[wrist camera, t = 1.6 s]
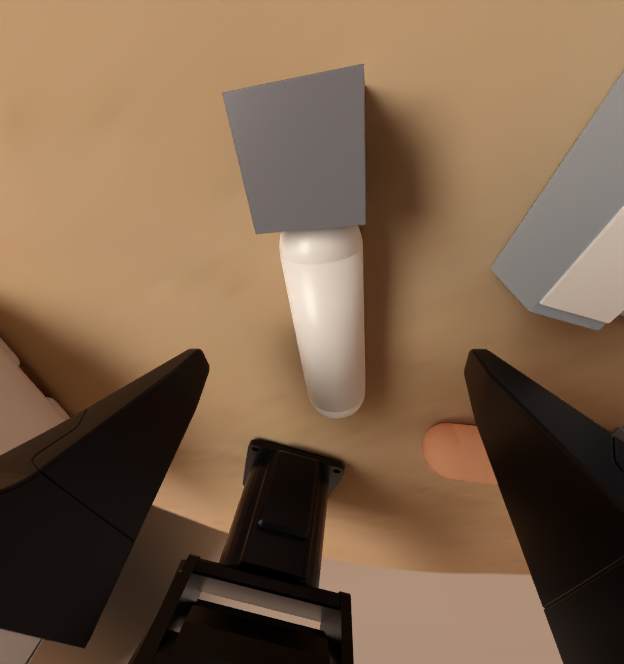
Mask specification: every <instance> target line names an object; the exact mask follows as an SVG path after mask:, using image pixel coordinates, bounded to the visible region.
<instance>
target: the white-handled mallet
mask: <svg viewBox="0 0 624 664" xmlns="http://www.w3.org/2000/svg"><path fill="white" fill-rule="evenodd" d="M222 95H223V99H224V103H225V107H226V111H227V116H228V120H229V124H230V128H231V132H232V137H233V141H234V145H235V149H236V153H237V157H238V162H239V166H240V170H241V174H242V178H243V182H244V187H245V191H246V195H247V199H248V203H249V207H250V212H251V216H252V220H253V224H254V228H255V232H256V234H262V233H274V232H282V233H281V236H280V244H279V248H280V257H281V262H282V267H283V272H284V278H285V283H286V288H287V293H288V298H289V303H290V308H291V313H292V318H293V323H294V328H295V333H296V338H297V343H298V348H299V353H300V358H301V363H302V368H303V373H304V378H305V383H306V389H307V394H308V398H309V400H310V403H311V404H312V406H313V407H314V408H315V410H316V411H317V412H319V413H320V414H321V415H323V416H325V417H328V418H331V419H342V418H346V417H349V416H351V415H352V414H354V413H355V412H356V411H357V410H358V409H359V408H360V406H361V405H362V403H363V400H364V397H365V390H366V389H365V334H364V278H363V242H362V236H361V232H360V229H359V227H358V225H366V144H365V78H364V64H360V65H355V66H350V67H345V68H340V69H335V70H330V71H325V72H320V73H316V74H311V75H306V76H301V77H296V78H291V79H286V80H281V81H276V82H271V83H267V84H262V85H257V86H252V87H247V88H242V89H237V90H232V91H227V92H223V93H222Z"/></svg>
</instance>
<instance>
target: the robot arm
mask: <svg viewBox="0 0 624 664" xmlns="http://www.w3.org/2000/svg"><path fill="white" fill-rule="evenodd" d="M208 373H209V364H208V362H207V360H206V358H205V355H204V353H203V351H202V350H201V349H188V350H186V351H185V352H183V353H181V354H180V355H178V356H176V357H174V358H173V359H171V360H169V361H167V362H166V363H164V364H162V365H161V366H159V367H157V368H155V369H154V370H152V371H150V372H149V373H147V374H145V375H143V376H142V377H140V378H138V379H136V380H135V381H133V382H131V383H130V384H128V385H126V386H124V387H123V388H121V389H119V390H117V391H116V392H114V393H112V394H111V395H109V396H107V397H105V398H104V399H102V400H100V401H98V402H97V403H95V404H93V405H92V406H90V407H89V408H86V409H85V410H83V411H81V412H79V413H78V414H76V415H74V416H72V417H71V418H69V419H67V420H65V421H64V422H62V423H60V424H58V425H57V426H55V427H53V428H51V429H49V430H47V431H45V432H44V433H42V434H40V435H38V436H36V437H34V438H32V439H30V440H28V441H27V442H25V443H23V444H21V445H19V446H17V447H15V448H13V449H11V450H9V451H7V452H6V453H4V454H2V455H0V664H28V663H29V661H30V660H31V658H32V657H33V655H34V653H35V652H36V650H37V649H38V647H39V645H40V644H41V642H42V641H43V639H45V640H49V641H53V642H57V643H62V644H66V645H70V646H74V647H78V648H82V649H84V648H85V647H86V645H87V644H88V642H89V640H90V638H91V636H92V634H93V632H94V629H95V627H96V625H97V623H98V621H99V619H100V616H101V614H102V612H103V610H104V608H105V605H106V603H107V601H108V599H109V597H110V595H111V593H112V590H113V588H114V586H115V584H116V582H117V580H118V577H119V575H120V573H121V571H122V569H123V566H124V564H125V562H126V560H127V558H128V556H129V553H130V551H131V549H132V547H133V545H134V541H135V540H136V538H137V536H138V534H139V532H140V529H141V527H142V525H143V523H144V521H145V518H146V516H147V514H148V512H149V510H150V508H151V506H152V504H153V501H154V499H155V497H156V495H157V493H158V491H159V488H160V486H161V484H162V482H163V480H164V478H165V475H166V473H167V471H168V469H169V467H170V465H171V462H172V460H173V458H174V456H175V454H176V452H177V449H178V447H179V445H180V443H181V441H182V439H183V436H184V434H185V432H186V430H187V428H188V426H189V423H190V421H191V419H192V417H193V415H194V413H195V410H196V408H197V405H198V403H199V400H200V397H201V394H202V391H203V388H204V385H205V382H206V379H207V376H208ZM464 375H465V380H466V385H467V389H468V393H469V398H470V402H471V406H472V411H473V415H474V419H475V422H476V425H477V428H478V431H479V434H480V437H481V439H482V442H483V445H484V448H485V450H486V453H487V456H488V458H489V461H490V464H491V467H492V469H493V472H494V475H495V478H496V480H497V483H498V486H499V489H500V491H501V494H502V497H503V499H504V502H505V505H506V508H507V510H508V513H509V516H510V519H511V521H512V524H513V527H514V529H515V532H516V535H517V538H518V540H519V543H520V546H521V549H522V551H523V554H524V557H525V560H526V562H527V565H528V568H529V570H530V573H531V576H532V579H533V581H534V584H535V587H536V590H537V592H538V595H539V598H540V600H541V603H542V606H543V607H544V608H545V609H544V612H545V615H546V617H547V620H548V623H549V626H550V628H551V631H552V634H553V637H554V639H555V642H556V644H557V648H558V650H559V653H560V655H561V659H562V661H563V664H624V441H622V440H621V439H619V438H618V437H616V436H614V437H613V435H612V433H610V432H609V431H607V430H606V429H604V428H603V427H601V426H600V425H598V424H597V423H595V422H594V421H592V420H591V419H589V418H588V417H586V416H585V415H583V414H582V413H580V412H579V411H577V410H576V409H575V408H573V407H572V406H570V405H569V404H567V403H566V402H564V401H563V400H561V399H560V398H558V397H557V396H555V395H554V394H552V393H551V392H549V391H548V390H546V389H545V388H543V387H542V386H540V385H539V384H537V383H536V382H534V381H533V380H531V379H530V378H529V377H527V376H526V375H524V374H523V373H521V372H520V371H518V370H517V369H515V368H514V367H512V366H511V365H509V364H508V363H506V362H505V361H503V360H502V359H500V358H499V357H497V356H496V355H494V354H493V353H491V352H490V351H488V350H486V349H472V350H470V352H469V354H468V358H467V362H466V365H465V369H464ZM344 469H345V466H344V464H343V463H341V462H338V461H334V460H331V459H327V458H323V457H320V456H316V455H312V454H308V453H305V452H301V451H297V450H294V449H290V448H286V447H283V446H279V445H275V444H271V443H268V442H264V441H260V440H256V439H255V440H251V441H250V444H249V446H248V452H247V458H246V465H245V472H244V478H243V485H244V486H245V487H244V490H243V493H242V496H241V499H240V502H239V504H238V507H237V510H236V513H235V516H234V519H233V522H232V525H231V528H230V531H229V534H228V537H227V540H226V543H225V546H224V549H223V552H222V555H221V558H220V561H219V563H216V562H212V561H208V560H204V559H201V558H200V556H197V555H194V554H189V556H188V558H187V560H181V562H180V564H179V567H178V569H177V571H176V574H175V576H174V578H173V581H172V583H171V585H170V588H169V590H168V592H167V594H166V596H165V598H164V600H163V602H162V604H161V606H160V608H159V610H158V612H157V614H156V615H155V617H154V619H153V621H152V622H151V624H150V626H149V627H148V629H147V631H146V633H145V635H144V636H143V638H142V640H141V641H140V643H139V645H138V647H137V648H136V650H135V652H134V654H133V656H132V657H131V659H130V661H129V662H128V664H353V663H354V662H353V639H352V616H351V595H350V594H348V593H344V592H341V591H340V592H339V593H335V592H331V591H327V590H323V589H319V579H320V569H321V559H322V549H323V539H324V529H325V519H326V509H327V499H328V498H329V496H330V494H331V493H332V491H333V490H334V488H335V487H336V485H337V484H338V482H339V480H340V479H341V477H342V476H343V474H344ZM201 592H205V593H208V594H213V595H216V596H220V597H224V598H228V599H232V600H236V601H240V602H244V603H248V604H252V605H256V606H260V607H264V608H267V609H271V610H275V611H280V612H283V613H287V614H291V615H295V616H299V617H303V618H307V619H311V620H315V621H319V622H321V625H320V630H318V629H313V628H310V627H306V626H302V625H298V624H294V623H290V622H286V621H282V620H279V619H274V618H271V617H267V616H263V615H259V614H255V613H251V612H247V611H243V610H239V609H235V608H232V607H227V606H224V605H220V604H216V603H212V602H208V601H204V600H200V599H199V596H200V593H201Z"/></svg>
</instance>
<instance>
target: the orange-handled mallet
mask: <svg viewBox="0 0 624 664" xmlns="http://www.w3.org/2000/svg"><path fill="white" fill-rule="evenodd" d="M612 435H613V437H614V436H616V437H618V438H619V439H621V440H622V441H624V428H622V427H619V428H618V429H617V430H616V431H615V432H614V433H612ZM422 450H423V455H424V458H425V460H426V462H427V463H428V465H429V466H430V467H431V468H432V469H433V470H434V471H435V472H436V473H438V474H439V475H441V476H443V477H445V478H448V479H452V480H459V481H467V482H474V483H482V484H490V485H497V486H498V483H497V480H496V478H495V475H494V472H493V469H492V467H491V464H490V461H489V458H488V456H487V453H486V450H485V448H484V445H483V442H482V439H481V437H480V434H479V431H478V428H477V426H473V425H463V424H453V423H441V424H437V425H435V426H433V427H431V428H430V429H429V430H428V431H427V432H426V434H425V436H424V438H423V442H422Z"/></svg>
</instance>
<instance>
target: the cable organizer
mask: <svg viewBox="0 0 624 664" xmlns="http://www.w3.org/2000/svg"><path fill="white" fill-rule="evenodd" d="M19 365H20V361H19V359H18V357H17V356H16V355H15V353H14V352H13V351H12V350H11V349H10V348H9V347H8V345H7V344H6V343H5V342H4V341H3V340H2V339H1V337H0V455H2V454H4V453H6V452H7V451H9V450H11V449H13V448H15V447H17V446H19V445H21V444H23V443H25V442H27V441H28V440H30V439H32V438H34V437H36V436H38V435H40V434H42V433H44V432H45V431H47V430H49V429H51V428H53V427H55V426H57V425H58V424H60V423H62V422H64V421H65V420H67V419H69V418H70V417H69V415H68V414H67V413H66V412H65V411H64V410H63V409H62V407H61V406H60V405H59V404H58V403H57V402H56V401H55V400H54V399H53V398H50V397H45V396H44V395H43V394H42V392H41V391H40V390H39V389H38V388H37V387H36V386H35V385H34V383H33V382H32V381H31V380H30V379H29V378H28V377H27V376H26V375H25V373H24V372H23V371H22V370H21V369H20V368H19V367H18V366H19Z"/></svg>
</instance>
